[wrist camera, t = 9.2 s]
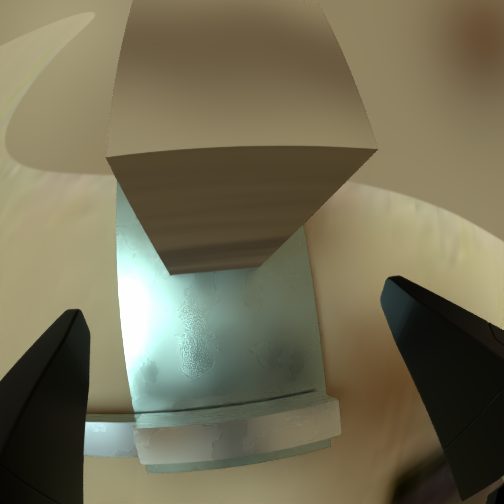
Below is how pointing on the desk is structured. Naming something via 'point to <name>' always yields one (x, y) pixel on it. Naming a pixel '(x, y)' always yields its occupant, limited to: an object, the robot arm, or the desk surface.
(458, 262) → the desk surface
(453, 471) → the robot arm
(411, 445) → the desk surface
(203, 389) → the frosted green glass slab
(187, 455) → the light brown wooden block
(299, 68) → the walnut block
